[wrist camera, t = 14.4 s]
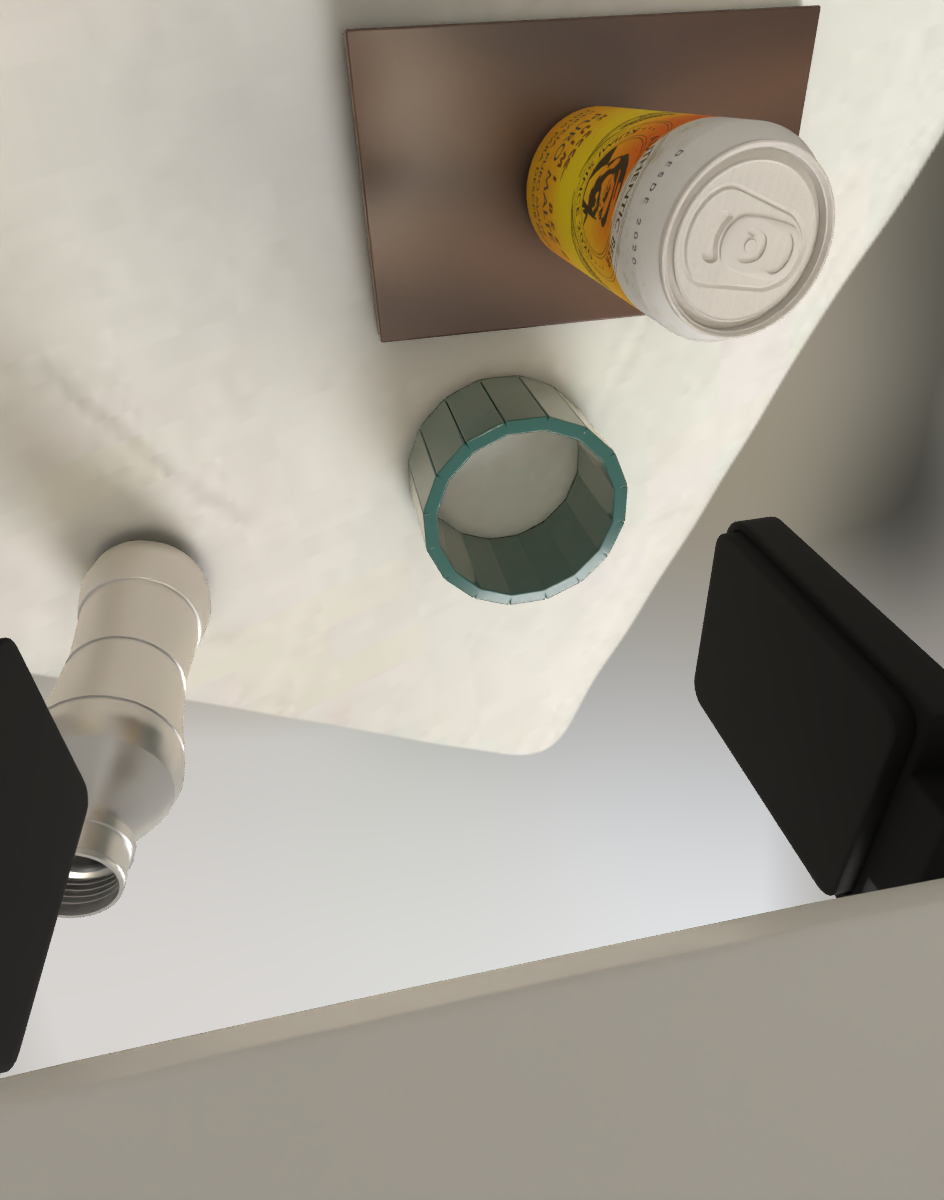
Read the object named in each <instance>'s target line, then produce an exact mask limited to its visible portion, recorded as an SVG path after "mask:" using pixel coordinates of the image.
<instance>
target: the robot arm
mask: <svg viewBox="0 0 944 1200" xmlns="http://www.w3.org/2000/svg"><path fill="white" fill-rule="evenodd" d="M694 683H695V691H696V695H697V698H698V701H699V703H700V704H701V706H702V708H703V709H704V711H705V713H706V714H707V715H708V717H709V719H710V720H711V722H712V723H713V724H714V726H715V728H716V729H717V731H718V733H719V734H720V736H721V737H722V739H723V740H724V742H725V743H726V745H727V747H728V748H729V750H730V751H731V753H732V754H733V756H734V757H735V759H736V761H737V762H738V764H739V765H740V767H741V768H742V770H743V771H744V773H745V774H746V776H747V778H748V779H749V781H750V782H751V784H752V785H753V787H754V788H755V790H756V791H757V793H758V795H759V796H760V798H761V799H762V801H763V802H764V803H765V805H766V807H767V808H768V810H769V811H770V813H771V815H772V816H773V818H774V819H775V821H776V822H777V824H778V826H779V827H780V829H781V830H782V832H783V833H784V835H785V836H786V838H787V839H788V841H789V843H790V844H791V845H792V847H793V849H794V850H795V852H796V853H797V855H798V856H799V858H800V859H801V861H802V863H803V864H804V865H805V867H806V869H807V870H808V872H809V873H810V875H811V876H812V878H813V879H814V881H815V883H816V884H817V886H818V887H819V888H820V889H821V890H822V891H823V892H824V893H825V894H827V895H830V896H831V895H835V896H836V899H831V900H825V901H820V902H815V903H810V904H805V905H800V906H795V907H790V908H786V909H781V910H776V911H771V912H766V913H762V914H757V915H752V916H747V917H743V918H738V919H733V920H728V921H723V922H719V923H714V924H709V925H704V926H700V927H694V928H690V929H686V930H680V931H676V932H671V933H666V934H661V935H656V936H652V937H647V938H642V939H637V940H632V941H627V942H623V943H618V944H614V945H608V946H603V947H599V948H594V949H589V950H585V951H580V952H575V953H571V954H566V955H561V956H557V957H552V958H547V959H542V960H538V961H533V962H528V963H524V964H519V965H514V966H510V967H505V968H500V969H496V970H491V971H486V972H482V973H477V974H472V975H467V976H463V977H458V978H454V979H450V980H445V981H439V982H435V983H430V984H426V985H421V986H417V987H412V988H407V989H402V990H398V991H393V992H388V993H384V994H379V995H375V996H370V997H366V998H360V999H356V1000H351V1001H346V1002H342V1003H337V1004H333V1005H328V1006H324V1007H319V1008H314V1009H310V1010H305V1011H300V1012H296V1013H292V1014H287V1015H282V1016H278V1017H273V1018H269V1019H264V1020H260V1021H255V1022H251V1023H246V1024H241V1025H237V1026H232V1027H228V1028H224V1029H219V1030H214V1031H209V1032H205V1033H200V1034H196V1035H191V1036H187V1037H183V1038H177V1039H173V1040H168V1041H164V1042H159V1043H155V1044H150V1045H146V1046H141V1047H136V1048H132V1049H127V1050H123V1051H119V1052H114V1053H109V1054H105V1055H100V1056H95V1057H91V1058H86V1059H82V1060H78V1061H73V1062H68V1063H64V1064H60V1065H56V1066H51V1067H47V1068H43V1069H39V1070H34V1071H30V1072H26V1073H22V1074H18V1075H13V1076H9V1077H5V1078H1V1079H0V1200H944V669H943V668H942V667H941V666H940V665H939V664H938V663H937V662H935V661H934V660H933V659H932V658H931V657H930V656H929V655H928V654H927V653H926V652H925V651H923V650H922V649H921V648H920V647H919V646H918V645H917V644H916V643H915V642H914V641H912V640H911V639H910V638H909V637H908V636H907V635H906V634H905V633H904V632H903V631H902V630H900V629H899V628H898V627H897V626H896V625H895V624H894V623H893V622H892V621H891V620H889V619H888V618H887V617H886V616H885V615H884V614H883V613H882V612H881V611H880V610H878V609H877V608H876V607H875V606H874V605H873V604H872V603H871V602H870V601H869V600H868V599H866V598H865V597H864V596H863V595H862V594H861V593H860V592H859V591H858V590H857V589H856V588H854V587H853V586H852V585H851V584H850V583H849V582H848V581H847V580H846V579H845V578H843V577H842V576H841V575H840V574H839V573H838V572H837V571H836V570H835V569H833V568H832V567H831V566H830V565H829V564H828V563H827V562H826V561H825V560H824V559H823V558H822V557H820V556H819V555H818V554H817V553H816V552H815V551H814V550H813V549H812V548H811V547H809V546H808V545H807V544H806V543H805V542H804V541H803V540H802V539H801V538H799V537H798V536H797V535H796V534H795V533H794V532H793V531H792V530H791V529H790V528H789V527H788V526H786V525H785V524H784V523H783V522H782V521H781V520H780V519H778V518H776V517H765V518H758V519H752V520H745V521H738V522H734V523H732V524H731V525H730V527H729V528H728V530H727V533H725V534H722V535H720V536H719V538H718V539H717V542H716V547H715V553H714V559H713V566H712V572H711V578H710V585H709V591H708V597H707V603H706V610H705V617H704V622H703V629H702V635H701V642H700V647H699V654H698V660H697V666H696V672H695V681H694ZM87 809H88V792H87V787H86V784H85V782H84V779H83V777H82V775H81V773H80V771H79V769H78V767H77V765H76V763H75V761H74V759H73V757H72V755H71V753H70V751H69V749H68V747H67V745H66V743H65V741H64V739H63V737H62V736H61V734H60V732H59V730H58V728H57V726H56V724H55V722H54V720H53V718H52V716H51V714H50V712H49V710H48V708H47V706H46V704H45V702H44V700H43V698H42V696H41V694H40V692H39V690H38V688H37V686H36V684H35V682H34V680H33V678H32V676H31V674H30V672H29V670H28V668H27V666H26V664H25V662H24V660H23V658H22V656H21V654H20V652H19V650H18V648H17V646H16V644H15V643H14V642H13V641H12V640H11V639H9V638H0V1073H3V1072H7V1071H9V1070H10V1069H11V1068H12V1067H13V1065H14V1063H15V1062H16V1060H17V1057H18V1054H19V1051H20V1048H21V1044H22V1041H23V1037H24V1034H25V1030H26V1027H27V1023H28V1019H29V1015H30V1012H31V1009H32V1005H33V1002H34V998H35V994H36V991H37V987H38V984H39V980H40V977H41V973H42V970H43V966H44V963H45V959H46V956H47V952H48V949H49V945H50V941H51V938H52V934H53V931H54V927H55V924H56V920H57V917H58V913H59V910H60V906H61V902H62V899H63V895H64V892H65V888H66V885H67V881H68V878H69V874H70V871H71V867H72V863H73V860H74V856H75V853H76V849H77V846H78V842H79V839H80V835H81V832H82V828H83V824H84V821H85V817H86V814H87Z"/></svg>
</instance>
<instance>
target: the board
mask: <svg viewBox="0 0 944 1200" xmlns="http://www.w3.org/2000/svg"><path fill="white" fill-rule="evenodd" d="M819 13H820V6H819V5H815V6H795V7H776V8H756V9H736V10H716V11H697V12H677V13H657V14H637V15H618V16H598V17H578V18H558V19H539V20H519V21H499V22H479V23H460V24H440V25H420V26H401V27H381V28H361V29H347V30H345V31H344V33H343V35H344V43H345V52H346V61H347V69H348V78H349V86H350V95H351V104H352V112H353V121H354V129H355V138H356V147H357V155H358V164H359V173H360V181H361V190H362V198H363V207H364V216H365V224H366V233H367V241H368V250H369V259H370V267H371V276H372V284H373V293H374V302H375V310H376V319H377V327H378V334H379V337H380V340H381V342H392V341H401V340H411V339H420V338H430V337H440V336H449V335H459V334H468V333H478V332H488V331H497V330H507V329H517V328H526V327H536V326H545V325H555V324H565V323H574V322H584V321H594V320H603V319H613V318H622V317H632V316H642V315H646V314H644V313H643V312H641V311H640V310H638V309H637V308H635V307H634V306H632V305H631V304H629V303H628V302H626V301H625V300H623V299H622V298H620V297H619V296H618V295H616V294H615V293H613V292H612V291H610V290H609V289H607V288H606V287H604V286H603V285H601V284H600V283H598V282H597V281H595V280H594V279H592V278H591V277H589V276H588V275H586V274H585V273H583V272H582V271H581V270H579V269H578V268H576V267H575V266H573V265H572V264H570V263H569V262H567V261H566V260H564V259H563V258H561V257H560V256H558V255H557V254H555V253H554V252H553V251H551V250H550V249H549V248H548V247H547V246H546V245H545V244H544V243H543V242H542V240H541V239H540V238H539V236H538V234H537V233H536V231H535V229H534V227H533V225H532V222H531V219H530V216H529V212H528V207H527V179H528V174H529V170H530V166H531V163H532V160H533V158H534V155H535V153H536V151H537V149H538V147H539V145H540V144H541V142H542V140H543V139H544V137H545V136H546V135H547V134H548V132H549V131H550V130H551V129H552V128H553V127H554V126H555V125H556V124H557V123H558V122H560V121H561V120H562V119H563V118H565V117H566V116H568V115H570V114H571V113H573V112H576V111H578V110H580V109H584V108H587V107H593V106H610V107H621V108H632V109H642V110H653V111H664V112H675V113H686V114H697V115H708V116H719V117H730V118H741V119H752V120H761V121H768V122H772V123H775V124H778V125H781V126H783V127H785V128H787V129H789V130H790V131H792V132H793V133H794V134H796V135H797V136H799V131H800V125H801V119H802V113H803V107H804V101H805V95H806V90H807V84H808V78H809V72H810V66H811V60H812V54H813V49H814V43H815V37H816V31H817V25H818V19H819Z"/></svg>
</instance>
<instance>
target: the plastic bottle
mask: <svg viewBox="0 0 944 1200" xmlns="http://www.w3.org/2000/svg"><path fill="white" fill-rule="evenodd" d="M210 614H211V600H210V593H209V587H208V583H207V580H206V577H205V575H204V574H203V572H202V570H201V569H200V567H199V566H198V565H197V564H196V562H195V561H194V560H193V559H191V558H190V557H189V556H188V555H187V554H185V553H184V552H182V551H180V550H179V549H177V548H175V547H172V546H170V545H167V544H165V543H161V542H156V541H149V540H136V541H128V542H125V543H121V544H118V545H116V546H114V547H112V548H110V549H108V550H107V551H106V552H105V553H104V554H102V555H101V556H100V557H99V558H98V560H97V561H96V562H95V563H94V564H93V566H92V567H91V568H90V570H89V571H88V572H87V574H86V575H85V577H84V579H83V582H82V585H81V589H80V596H79V603H78V622H77V627H76V631H75V635H74V640H73V644H72V648H71V652H70V655H69V657H68V659H67V661H66V664H65V666H64V667H63V670H62V672H61V674H60V676H59V678H58V680H57V682H56V684H55V687H54V689H53V690H52V692H51V693H50V695H49V696H48V698H47V699H46V701H45V704H46V706H47V708H48V710H49V712H50V714H51V716H52V718H53V720H54V722H55V724H56V726H57V728H58V730H59V732H60V734H61V736H62V737H63V739H64V741H65V743H66V745H67V747H68V749H69V751H70V753H71V755H72V757H73V759H74V761H75V763H76V765H77V767H78V769H79V771H80V773H81V775H82V777H83V779H84V782H85V784H86V787H87V792H88V809H87V814H86V817H85V821H84V824H83V828H82V832H81V835H80V839H79V842H78V846H77V849H76V853H75V856H74V860H73V863H72V867H71V871H70V874H69V878H68V881H67V885H66V888H65V892H64V895H63V899H62V902H61V906H60V910H59V913H58V917H63V918H77V917H85V916H90V915H94V914H97V913H100V912H102V911H104V910H106V909H108V908H109V907H111V906H112V905H114V904H115V903H116V902H117V901H118V900H119V898H120V896H121V895H122V892H123V890H124V888H125V883H126V879H127V874H128V870H129V869H130V867H131V865H132V863H133V860H134V856H135V851H136V841H137V840H139V839H140V838H142V837H143V836H144V835H146V834H147V833H148V832H149V831H151V830H152V829H153V828H154V827H155V826H157V825H158V824H159V823H160V822H161V821H162V820H163V819H164V818H165V817H166V816H167V814H168V813H169V811H170V810H171V808H172V806H173V804H174V802H175V801H176V799H177V797H178V795H179V793H180V792H181V790H182V786H183V781H184V770H185V769H184V768H185V755H184V729H183V711H184V702H185V690H186V681H187V676H188V673H189V670H190V666H191V663H192V660H193V657H194V653H195V650H196V648H197V647H198V645H199V643H200V641H201V639H202V637H203V635H204V633H205V630H206V627H207V625H208V622H209V618H210Z"/></svg>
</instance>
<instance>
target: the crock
mask: <svg viewBox="0 0 944 1200" xmlns="http://www.w3.org/2000/svg"><path fill="white" fill-rule="evenodd" d="M544 430H545V431H549V432H552V433H556V434H560V435H563V436H567V437H570V438H574V439H577V441H578V443H579V453H578V474H577V476H576V478H575V480H574V483H573V485H572V487H571V489H570V492H569V494H568V496H567V498H566V500H565V501H564V502H563V503H562V504H561V505H560V506H559V507H558V508H557V509H556V510H555V511H554V512H553V513H552V514H551V515H550V516H549V518H548V519H547V520H546V521H545V522H543V523H541V524H539V525H537V526H535V527H533V528H532V529H530V530H528V531H526V532H524V533H522V534H520V535H518V536H511V537H504V538H497V539H490V540H488V539H483V538H479V537H474V536H470V535H465V534H461V533H459V532H458V531H456V530H455V529H454V528H452V527H451V526H449V525H448V524H447V523H445V522H444V521H442V520H441V519H439V518H438V517H437V512H438V509H439V507H440V504H441V501H442V498H443V495H444V493H445V490H446V487H447V484H448V482H449V480H450V479H451V478H452V477H453V475H454V474H455V473H456V472H457V471H458V470H459V469H460V468H461V466H462V465H463V464H464V463H465V462H466V461H467V460H468V459H469V457H470V456H471V455H472V454H473V453H474V452H476V451H478V450H480V449H482V448H484V447H486V446H488V445H490V444H491V443H493V442H495V441H497V440H499V439H501V438H503V437H505V436H507V435H511V434H520V433H528V432H536V431H544ZM408 468H409V477H410V487H411V496H412V499H413V503H414V507H415V510H416V514H417V517H418V521H419V524H420V528H421V532H422V535H423V539H424V542H425V546H426V549H427V552H428V553H429V555H430V557H431V558H432V560H433V561H434V563H435V565H436V566H437V568H438V570H439V571H440V573H441V574H442V576H443V578H445V579H446V580H447V581H448V582H450V583H451V584H453V585H454V586H456V587H457V588H459V589H460V590H462V591H463V592H465V593H467V594H468V595H470V596H471V597H475V598H476V599H481V600H486V601H491V602H496V603H501V604H507V605H508V604H509V603H510V605H512V604H519V603H525V602H532V601H539V600H545V597H546V598H550V597H552V596H554V595H556V594H558V593H560V592H562V591H564V590H566V589H568V588H570V587H572V586H574V585H576V584H578V583H579V581H583V580H584V579H585V578H586V577H587V576H588V575H589V574H590V573H591V572H592V571H593V570H594V569H595V568H596V567H597V566H598V565H599V564H600V563H601V562H602V561H603V560H604V559H605V558H606V557H607V554H609V552H610V550H611V548H612V546H613V544H614V542H615V540H616V538H617V536H618V534H619V532H620V530H621V528H622V526H623V524H624V522H623V521H625V512H626V499H627V486H626V485H627V483H626V480H625V477H624V475H623V472H622V470H621V467H620V464H619V462H618V459H617V456H616V454H615V453H614V451H613V450H612V448H611V447H610V446H609V445H608V444H607V443H606V441H605V440H604V439H603V438H602V437H601V436H600V434H599V433H598V432H597V431H596V430H595V429H594V427H593V426H592V425H591V424H590V423H589V421H588V420H587V419H586V418H585V417H584V416H583V414H582V413H581V412H580V411H579V410H578V409H577V408H576V407H575V406H574V405H573V404H572V403H571V402H570V401H569V400H568V399H567V398H565V397H564V396H563V395H562V394H561V393H560V392H559V391H558V390H557V389H556V388H554V387H552V386H551V385H548V384H545V383H541V382H538V381H535V380H532V379H528V378H525V377H522V376H518V377H517V376H508V377H499V378H490V379H481V380H480V381H476V382H474V383H473V384H471V385H469V386H467V387H465V388H463V389H461V390H460V391H458V392H456V393H454V394H452V395H450V396H448V397H447V398H446V400H443V401H442V402H441V403H440V405H439V406H438V407H437V408H436V409H435V410H434V412H433V413H432V414H431V415H430V416H429V418H428V419H427V420H426V421H425V422H424V423H423V425H422V426H421V429H419V431H418V434H417V437H416V440H415V443H414V446H413V449H412V452H411V455H410V459H409V464H408Z"/></svg>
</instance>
